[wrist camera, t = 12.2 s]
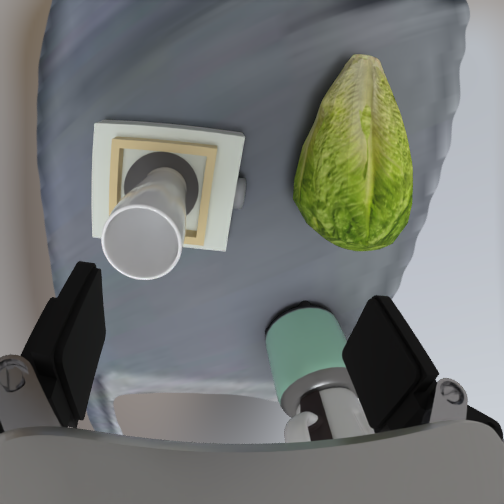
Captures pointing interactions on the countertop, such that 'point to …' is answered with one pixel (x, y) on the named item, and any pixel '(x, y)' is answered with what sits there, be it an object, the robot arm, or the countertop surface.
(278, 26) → the countertop surface
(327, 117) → the lettuce
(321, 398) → the green blender
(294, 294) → the countertop surface
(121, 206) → the drinking glass
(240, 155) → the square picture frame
